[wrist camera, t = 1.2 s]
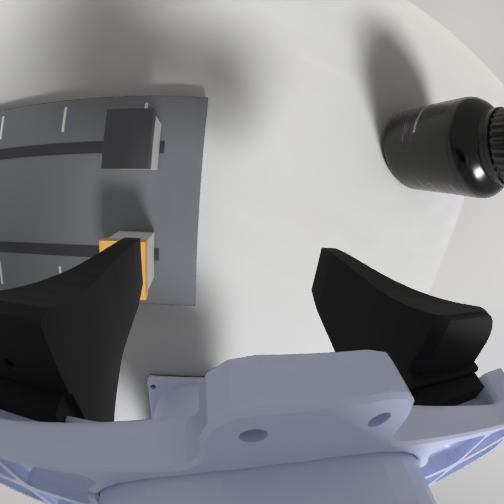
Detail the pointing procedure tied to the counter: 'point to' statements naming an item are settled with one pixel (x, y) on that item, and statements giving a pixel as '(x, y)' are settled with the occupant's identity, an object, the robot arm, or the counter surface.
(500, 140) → the supplement bottle
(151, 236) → the fader orange
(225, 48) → the counter surface
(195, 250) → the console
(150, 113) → the fader black
